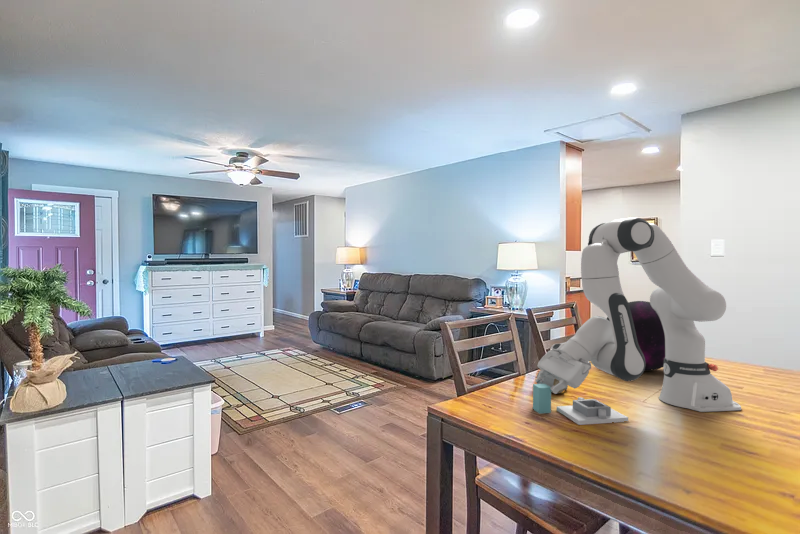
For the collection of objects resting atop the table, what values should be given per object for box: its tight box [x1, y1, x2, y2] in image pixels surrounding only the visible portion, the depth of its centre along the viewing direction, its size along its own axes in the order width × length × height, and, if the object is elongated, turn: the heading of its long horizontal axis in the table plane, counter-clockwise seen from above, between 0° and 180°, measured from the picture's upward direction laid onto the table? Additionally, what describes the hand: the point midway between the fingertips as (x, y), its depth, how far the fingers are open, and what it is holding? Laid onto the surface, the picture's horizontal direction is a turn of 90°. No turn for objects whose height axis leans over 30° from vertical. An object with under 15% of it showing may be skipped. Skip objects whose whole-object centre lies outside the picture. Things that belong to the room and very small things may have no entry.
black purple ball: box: [606, 300, 665, 372], centre depth 182 cm, size 30×30×30 cm
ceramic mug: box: [536, 369, 569, 394], centre depth 152 cm, size 11×8×8 cm
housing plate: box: [556, 396, 629, 426], centre depth 127 cm, size 16×12×4 cm
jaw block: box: [532, 383, 552, 415], centre depth 131 cm, size 4×4×8 cm
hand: (544, 387), depth 131 cm, fingers open, 8 cm apart
